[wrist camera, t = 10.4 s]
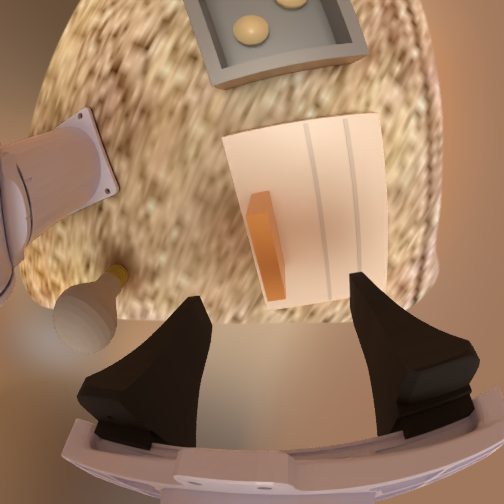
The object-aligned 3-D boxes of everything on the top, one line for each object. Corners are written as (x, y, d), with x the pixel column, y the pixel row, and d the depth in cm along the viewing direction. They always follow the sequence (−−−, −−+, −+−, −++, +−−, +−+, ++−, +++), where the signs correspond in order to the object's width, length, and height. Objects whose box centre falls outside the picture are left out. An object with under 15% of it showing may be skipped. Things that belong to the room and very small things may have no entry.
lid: (267, 298, 25) (265, 345, 20) (225, 135, 18) (207, 146, 13) (380, 280, 23) (400, 322, 18) (370, 111, 16) (404, 116, 11)
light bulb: (118, 234, 23) (53, 304, 14) (157, 278, 25) (111, 360, 16) (90, 261, 25) (33, 327, 16) (125, 299, 27) (81, 372, 18)
